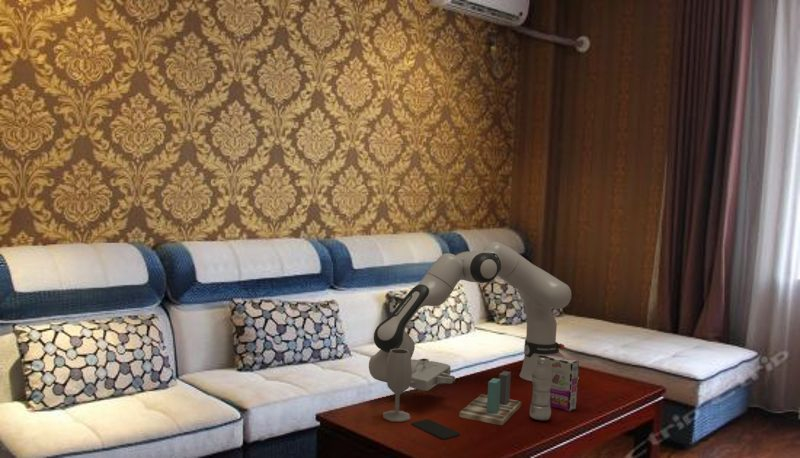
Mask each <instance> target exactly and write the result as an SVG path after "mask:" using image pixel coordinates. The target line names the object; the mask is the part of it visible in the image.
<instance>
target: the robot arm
mask: <svg viewBox="0 0 800 458" xmlns="http://www.w3.org/2000/svg"><path fill="white" fill-rule="evenodd" d="M496 277H498V278H500V279H501V280H503V281H504V282H506V283H507V284H508V285H510V286H511V287H513V288H514V289H516V290H518V294H519V295H520V297H521V298H522V302H523V305H524V310H525V315H526V316H525V317H526V333H525V334H526V336H525V340H524V346H523V347H524V348H523V353H524V357H523V361H522V362H523V363H522V366H521V370H520V373H519V377H520V378H521V379H522V380H525V381H529V382H532V370H533V368H534V367H535V366H536V365H537V364H538V363H537V357H538V356H547V355H555V356H559V357H564V358H567V357H566V356H565V355H564V354H563V353H561V352H560V350H564V349H565V345H564V344H562V343H558V342H557V325H558V324H557V319H556V318H555V316H554V315H553V312H552V309H558V310H559V309H563V308H566V307H567V306H568V305H569V304H570V302H571V299H572V290H571V288H570V286H569V285H568V284H566V283H565V282H564V281H562V280H560V279H559V278H557V277H555V276H553V275H552V274H550V273H549V272H548V271H545V270H544V269H542V268H540V267H539V266H536V265H535V264H533V263H532V262H530V261H529V260H528V259H526V258H525V257H523V256H522V255H521V254H520V253H518V252H517V251H516V250H514V249H513V248H511V247H509V246H508V245H505V244H503V243H501V242H499V241H492V242H491V241H490V243H488V244H487V245H486V246H485V247H484V248H483V250H482V251H476V250H475V251H474V250H472V251H471V250H470V251H467V250H463V251H461V250H460V251H459V252H457V253H455V254H453V253H450V252H449V253H448V252H447V253H443V254H441V255H440V256H439V257H438V258H437V259H436V260H435V261H434V263H432V265H431V266H430V268H428V270H427V272H426V274H425V275H424V276H423V277H422V279H421V280H420V282H419V283H418V284H417V285H415V286H413V288H412V289H410V290H409V292H408V293H407V294H406V295H405V297H404V298H403V299H402V300H401V302H400V303H399V304H398V305H397V306H396V308H395V309H394V310H393V311H392V312H391V314H390V315H389V316H388V317H387V318H385V319H384V320H382V322H380V323H379V325H377V327H376V328H375V330H374V332H373V342H374V344H375V346H376V347H377V348H378V349H379V350H378V351H377V352H376V353H375V354H374V355H372V356H370V358H369V361H368V371H369V374H370V375H371V377H372V378H373V379H374V380H377V381H379V382H383V383H387V380H386V364H387V359H388V355H389V352H390V350H391V349H405V350H408V351H409V355H410V359H411V368H412V377H411V382H410V385H409V388H412V389H415V390H420V391H424V392H425V391H429V390H431V389H432V388H434V387H435V386H437V385H438V384H453V383H454V382H455V381H456V377H455V376H454V375H452V374H451V365H449V364H447V363H444V362H438V361H434V360H431V361H430V359H429V358H420V359H412V357H413V354H414V352H415V349H416V347H415V346H416V345H415V341H414V339H413V338H412V337H411V336H410V335H409V334H408V333H407V332H406V328H407V326H408V324H409V323H410V322H411V320H412V319H413V318H414V316H415V315H416V314H417V312H418V311H419V310H420V309H422V308H423V307H426V306H427V307H437V306H438V307H439V306H441V305H443V304H444V303H445V302H446V301H447V300H448V299H449V297H450V296H451V295H452V292H453V291H454V289H455V288H456V287H457V285H458V283H459V282H460V281H465V282H469V283H470V282H471V283H479V284H486V283H487V284H488V283H489V282H490V283H491V282H492V281H493V280H495V278H496ZM578 380H580V377H579V376H578Z"/></svg>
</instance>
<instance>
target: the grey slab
mask: <svg viewBox="0 0 800 458" xmlns="http://www.w3.org/2000/svg"><path fill="white" fill-rule="evenodd" d="M511 378H512V372H511V371H507V370H503V371H502V372H500V373H499V374H498V379H501V386H500V403H499V404H502V405H506V404H508V403H509V399H511V398H510V396H511Z"/></svg>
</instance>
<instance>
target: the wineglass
mask: <svg viewBox="0 0 800 458" xmlns="http://www.w3.org/2000/svg"><path fill="white" fill-rule="evenodd" d="M411 359H412V358H411ZM411 359H410V355H409V351H408V350H405V349H391V350H390V352H389V355H388V359H387V364H386V380H387V382H386V384H387V385H386V386H387V388H388V389H389V390H390V391H391V392H392V393H393V394H394V395H395V400H394V410H388V411H385V412H382V417H383V419H384V420H385V421H389V422H391V423H394V422H395V423H404V422H406V421H409V420H411V415H410V413H408V412H405V411H403V410H400V398H401V397H400V395H401V394H403V393H404V392H405V391H406V390H408V389H409V388H410V387H409V385H410V382H411V377H412V368H411Z"/></svg>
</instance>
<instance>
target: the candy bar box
mask: <svg viewBox="0 0 800 458" xmlns="http://www.w3.org/2000/svg"><path fill="white" fill-rule="evenodd" d="M547 356H548V357H549V358H550V359H549V362H550V363H549V364H548V365H549V367H550V368H551V370H552V373H553V378H552V383H551V390H550V406H551V408H554V409H559V410H562V411H565V412H567V413H568V412H572V411H574V410H576V409H577V401H578V400H577V399H578V398H577V397H578V382H579V381H578V377H579V366H580V360H577V359H572V358H567V357H566V358H564V357H559V356H555V355H547Z"/></svg>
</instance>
